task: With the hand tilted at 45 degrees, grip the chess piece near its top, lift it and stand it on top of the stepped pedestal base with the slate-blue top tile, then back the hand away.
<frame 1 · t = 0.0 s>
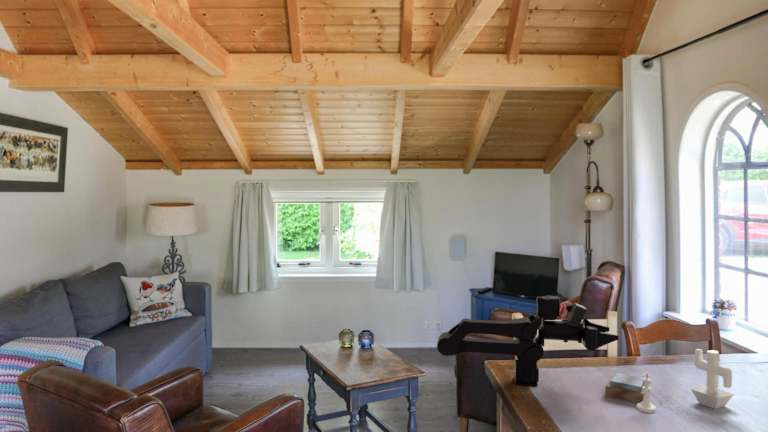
hand: (613, 333, 146), 17 cm above the table, tool horizontal, fingers open, 9 cm apart
chess piece: (646, 409, 132), on the table
figurine: (711, 405, 135), on the table
stepped pedestal base: (627, 394, 141), on the table
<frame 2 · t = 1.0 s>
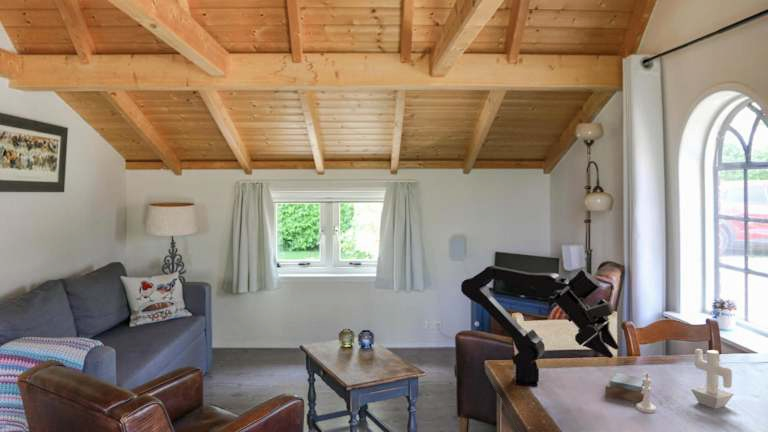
hand: (614, 352, 136), 14 cm above the table, tool tilted 45°, fingers open, 9 cm apart
nothing on the table moved.
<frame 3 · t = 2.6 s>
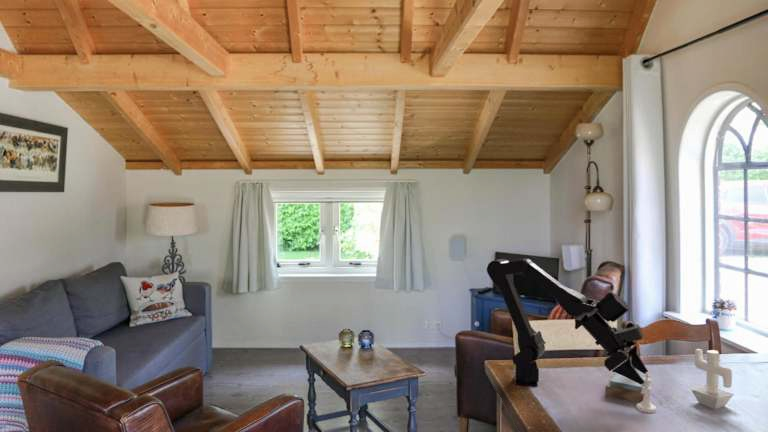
hand: (644, 378, 132), 8 cm above the table, tool tilted 45°, fingers open, 9 cm apart
nothing on the table moved.
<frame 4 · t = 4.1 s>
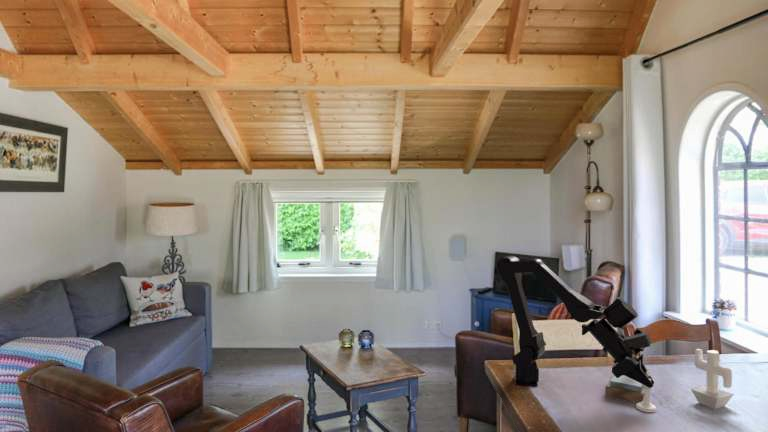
hand: (652, 385, 131), 7 cm above the table, tool tilted 45°, fingers closed on chess piece
chess piece: (646, 409, 132), on the table, touching gripper
everything else where it was.
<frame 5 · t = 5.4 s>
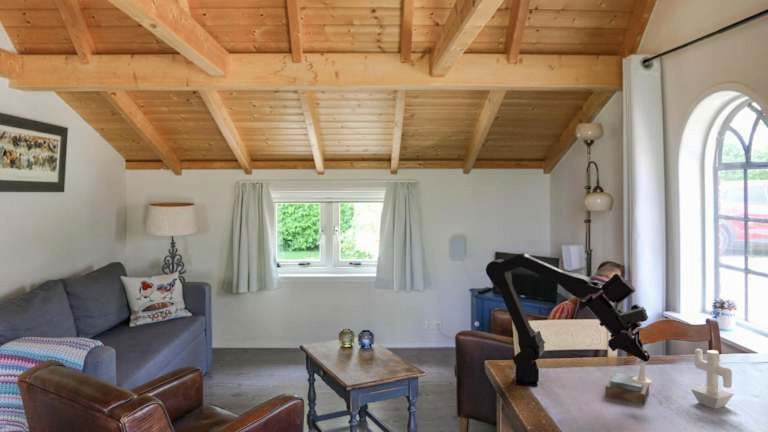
hand: (648, 359, 133), 13 cm above the table, tool tilted 45°, fingers closed on chess piece
chess piece: (641, 383, 133), point 6 cm above the table, touching gripper
everything else where it was.
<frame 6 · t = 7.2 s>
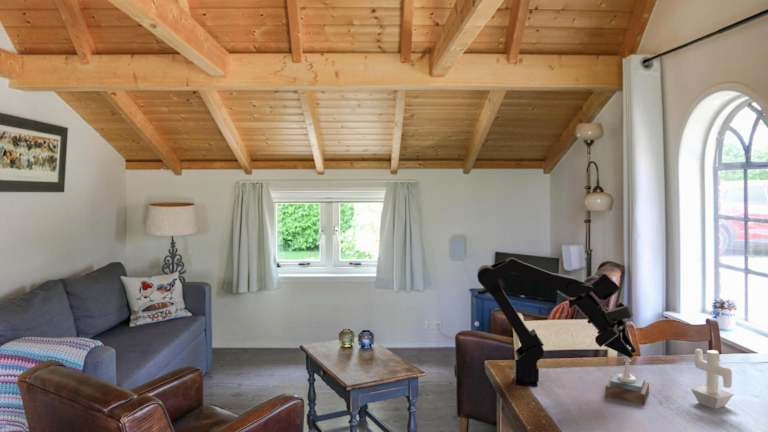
hand: (633, 354, 140), 12 cm above the table, tool tilted 45°, fingers open, 5 cm apart
chess piece: (626, 380, 141), point 4 cm above the table, touching stepped pedestal base
everything else where it was.
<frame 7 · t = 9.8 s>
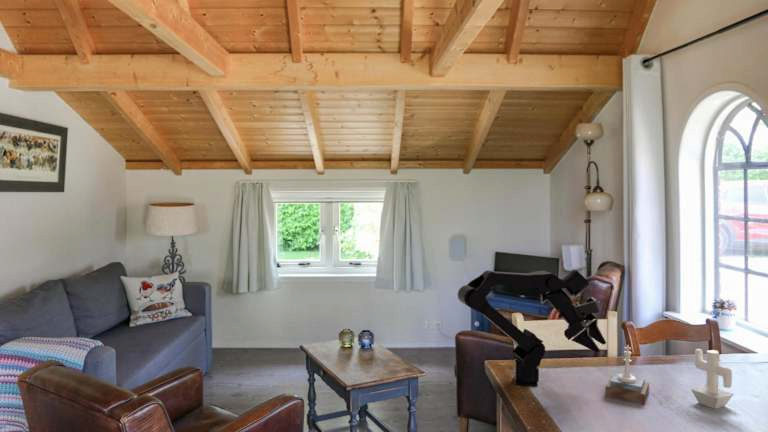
hand: (601, 347, 145), 13 cm above the table, tool tilted 45°, fingers open, 9 cm apart
nothing on the table moved.
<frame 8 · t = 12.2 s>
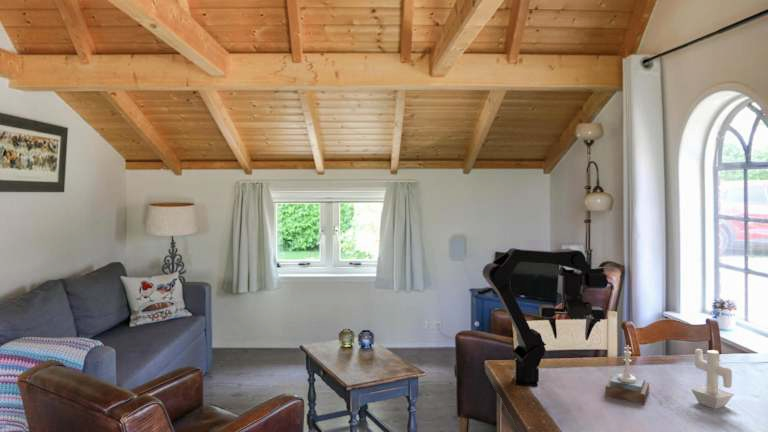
hand: (570, 339, 152), 13 cm above the table, tool pointing down, fingers open, 9 cm apart
nothing on the table moved.
at the end: chess piece 0.2 cm off-centre on the stepped pedestal base, point 4.3 cm above the stepped pedestal base's base; chess piece tilted 0°; the gripper is holding nothing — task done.
